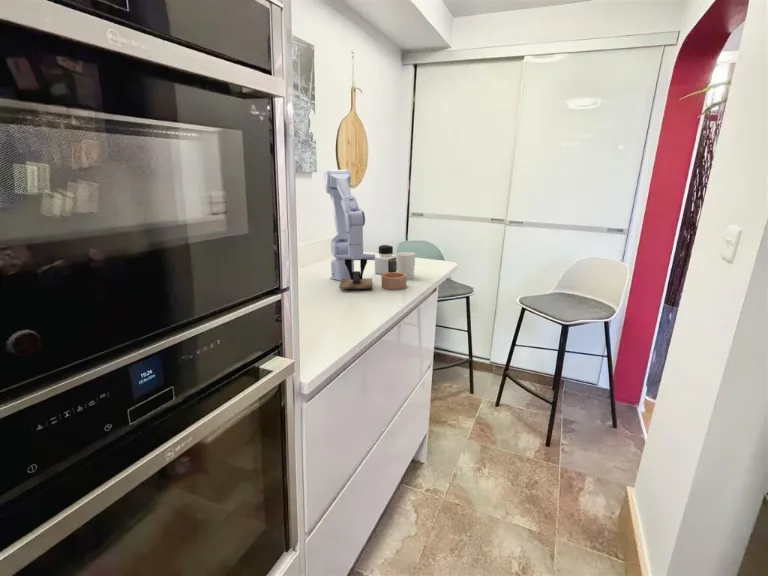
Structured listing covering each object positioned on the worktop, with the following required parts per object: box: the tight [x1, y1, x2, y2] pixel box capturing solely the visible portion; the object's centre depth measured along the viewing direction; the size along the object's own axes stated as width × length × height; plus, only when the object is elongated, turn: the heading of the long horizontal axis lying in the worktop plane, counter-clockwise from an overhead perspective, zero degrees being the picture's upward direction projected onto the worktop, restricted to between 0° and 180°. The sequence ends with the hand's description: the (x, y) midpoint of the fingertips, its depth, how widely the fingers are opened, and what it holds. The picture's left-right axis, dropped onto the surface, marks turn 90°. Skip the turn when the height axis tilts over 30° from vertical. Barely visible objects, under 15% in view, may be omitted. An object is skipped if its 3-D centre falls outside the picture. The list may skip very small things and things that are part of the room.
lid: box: [339, 270, 374, 290], centre depth 162 cm, size 12×12×5 cm
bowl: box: [380, 272, 407, 290], centre depth 162 cm, size 9×9×4 cm
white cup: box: [395, 251, 416, 280], centre depth 175 cm, size 8×8×10 cm
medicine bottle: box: [374, 244, 397, 275], centre depth 184 cm, size 7×7×12 cm
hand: (356, 279), depth 162 cm, fingers closed on lid, 3 cm apart
